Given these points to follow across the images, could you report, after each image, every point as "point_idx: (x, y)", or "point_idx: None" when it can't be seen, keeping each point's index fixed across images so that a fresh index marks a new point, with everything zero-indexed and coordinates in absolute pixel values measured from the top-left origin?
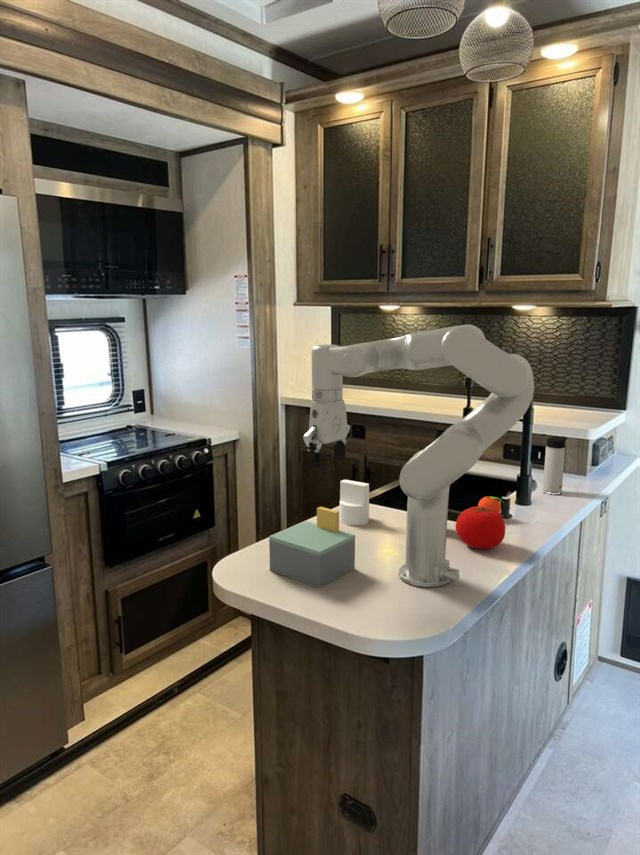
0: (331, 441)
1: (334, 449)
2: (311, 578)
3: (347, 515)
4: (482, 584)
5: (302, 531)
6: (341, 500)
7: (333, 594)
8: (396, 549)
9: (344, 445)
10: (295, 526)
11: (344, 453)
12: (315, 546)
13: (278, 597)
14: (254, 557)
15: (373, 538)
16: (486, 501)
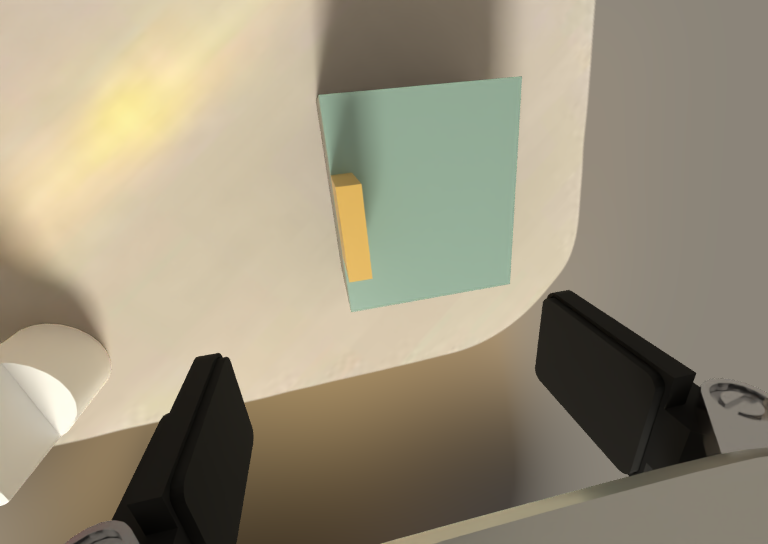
0: (692, 481)
1: (238, 516)
2: None
3: (88, 366)
4: None
5: (423, 251)
6: (56, 433)
7: (473, 31)
8: (90, 101)
9: (150, 495)
10: (407, 295)
11: (190, 400)
12: (493, 124)
13: (556, 128)
14: (440, 322)
15: (101, 222)
16: None
